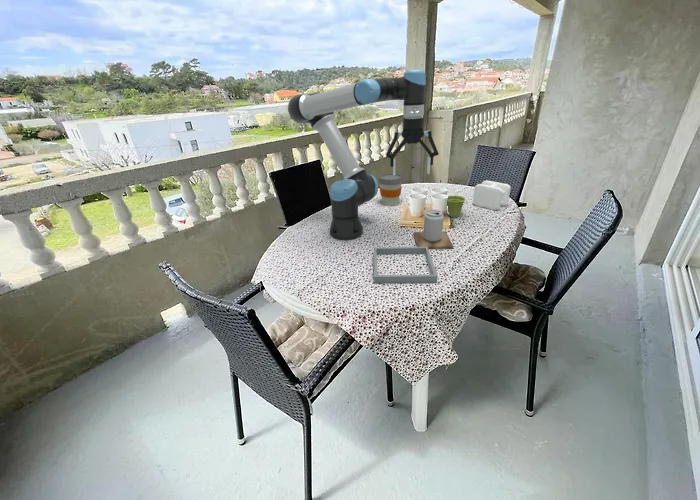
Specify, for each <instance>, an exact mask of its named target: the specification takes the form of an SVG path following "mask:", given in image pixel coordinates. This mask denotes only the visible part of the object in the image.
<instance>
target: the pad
mask: <svg viewBox="0 0 700 500" xmlns="http://www.w3.org/2000/svg"><path fill="white" fill-rule="evenodd" d="M423 232H424V231H413V234H412V235H413V237H414V241H415V245H416V246H415V247H428V249H429V250H454V244H453V243H452V241H451V239H450V237H449V235H448V233H447V231H445V230H444V231H443V230H442V238H441V239H440V240H439V241H437V242H430V241H427V240H426V239H425V238H424V237H423Z"/></svg>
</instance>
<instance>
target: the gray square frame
mask: <svg viewBox="0 0 700 500" xmlns="http://www.w3.org/2000/svg"><path fill="white" fill-rule="evenodd" d="M412 254H413V255H416V254H417V255H419V254H420V255H421V254H424V255H425V259H426V261H427V264H428V267H429V270H430V274H387V275H386V274H380V275H379V274H378V258H377V257H378V256H377V255H412ZM431 255H432V254H431V253H430V249H428V247H417V246H400V247H399V246H398V247H397V246H394V247H393V246H391V247H385V246H384V247H373V275H374V276H373V277H374V280H373V281H374V284H408V283H409V284H411V283H414V284H415V283H416V284H418V283H419V284H420V283H422V284H423V283H425V284H426V283H437V282H438V273H437V270H436V267H435V264H434V262H433V259H432V256H431Z"/></svg>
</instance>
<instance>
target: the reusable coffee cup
mask: <svg viewBox="0 0 700 500" xmlns="http://www.w3.org/2000/svg"><path fill="white" fill-rule="evenodd" d="M378 182H379V183H378V184H379V193H380V196H381V203H382V205H383V206H386V207H392V206H397V205H399V204H400V203H399V202H400V196H401V194H402V187H403V186H402V183H403V176H402V175H401V174H399V173H395V175H393V173H386V174H381V175H379V179H378Z"/></svg>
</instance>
